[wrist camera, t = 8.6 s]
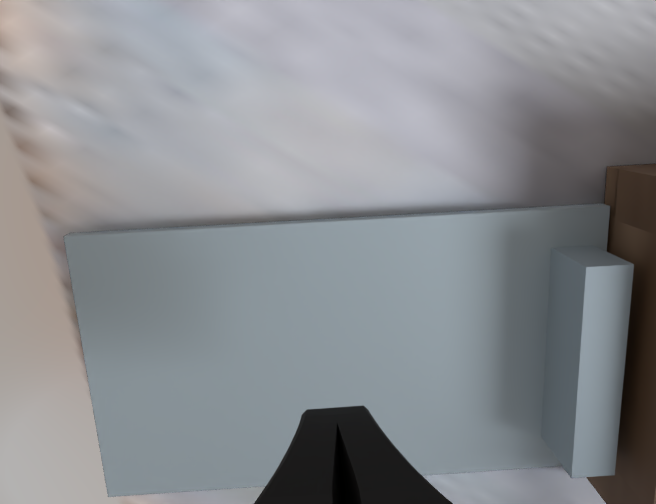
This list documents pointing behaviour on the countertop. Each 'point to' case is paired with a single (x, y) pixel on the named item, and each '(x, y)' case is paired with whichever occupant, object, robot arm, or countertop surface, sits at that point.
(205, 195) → the countertop surface
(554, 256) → the cover plate
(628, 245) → the walnut box
